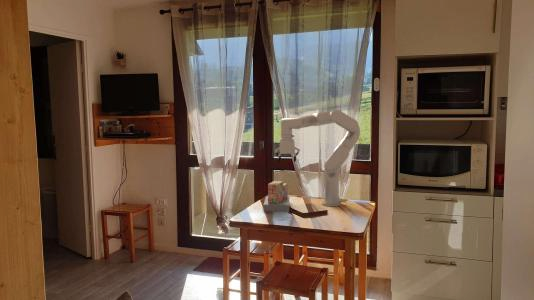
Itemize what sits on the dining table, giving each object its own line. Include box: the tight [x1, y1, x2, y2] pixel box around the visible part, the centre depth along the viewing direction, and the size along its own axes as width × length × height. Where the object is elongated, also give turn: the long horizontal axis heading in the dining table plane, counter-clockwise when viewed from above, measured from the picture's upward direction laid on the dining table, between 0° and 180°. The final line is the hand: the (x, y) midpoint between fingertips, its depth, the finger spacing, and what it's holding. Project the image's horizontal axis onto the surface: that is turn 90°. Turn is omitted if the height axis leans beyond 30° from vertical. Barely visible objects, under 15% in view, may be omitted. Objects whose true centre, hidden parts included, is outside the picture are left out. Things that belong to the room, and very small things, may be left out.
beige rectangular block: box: [267, 180, 289, 203], centre depth 281 cm, size 21×6×12 cm, turn 159°
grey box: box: [263, 195, 290, 213], centre depth 280 cm, size 16×26×5 cm, turn 177°
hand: (287, 162), depth 288 cm, fingers open, 9 cm apart
